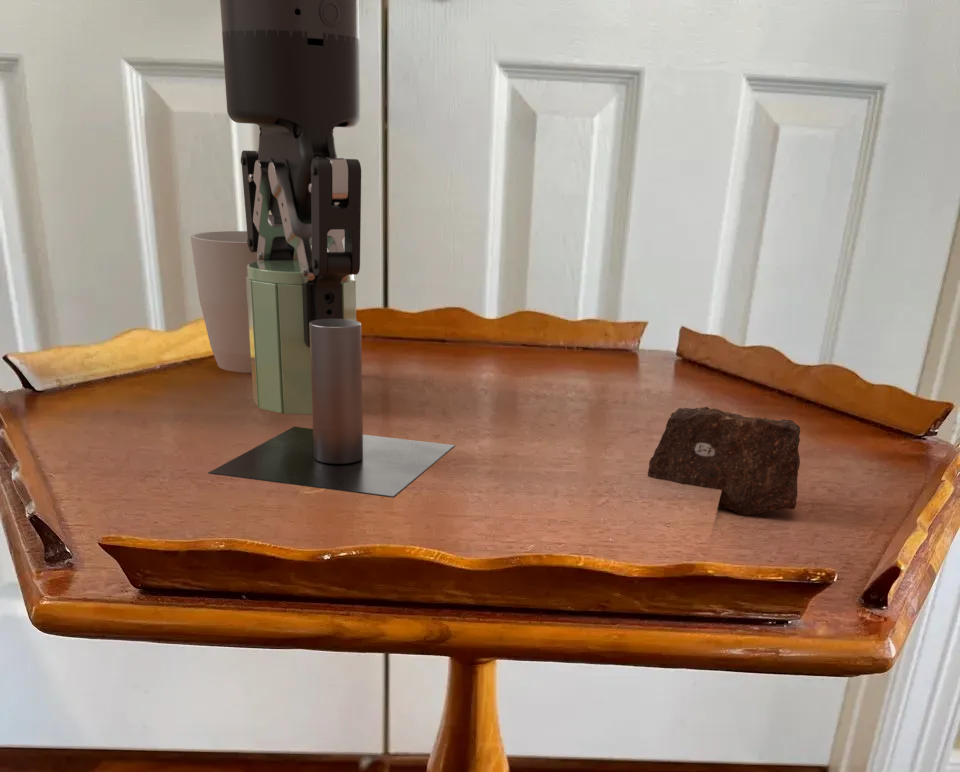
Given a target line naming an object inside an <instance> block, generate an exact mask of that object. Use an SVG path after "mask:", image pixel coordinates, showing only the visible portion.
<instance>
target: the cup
mask: <svg viewBox="0 0 960 772" xmlns="http://www.w3.org/2000/svg"><path fill="white" fill-rule="evenodd" d="M189 236H190V237H189V238H190V243H191V250H192V258H193V265H194V266H193V267H194V272H195V281H196V286H197V287H196V288H197V295H198V299H199V304H200V308H201V313H202V317H203V321H204V325H205V329H206V333H207V338H208V341H209V345H210V349H211V352H212V354H213V356H214V359H215V361H216V364H217V366H218V368H219V369H221V370H225V371H228V372H234V373H235V372H236V373H243V374H245V373H246V374H252V369H251V353H250V336H249V320H248V304H247V288H246V276H247V265H248V264H250V263H253V262H258V260H257V256H256V254H257V252H250V250H249V247H248V244H247V239H248V237H247V230H227V231H226V230H224V231H206V232H196V233H193V234H190V235H189Z"/></svg>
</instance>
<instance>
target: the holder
mask: <svg viewBox="0 0 960 772" xmlns="http://www.w3.org/2000/svg"><path fill="white" fill-rule="evenodd" d="M309 329H310V357H311V386H312V414H311V415H312V428H311V427H301V426H292V427H291V428H289V429H286V430H285V431H283V432H281V433H279V434H277V435H275V436H273V437H272V438H269V439H268V440H266V441H264V442H263V443H262V442H261V444H258V445H256V446H255V447H253V448H251V449H249V450H247V451H246V452H244V453H242V454H240V455H238V456H236V457H235V458H233V459H231V460H229V461H227V462H225V463H223V464H222V465H220V466H218V467H216V468H214V469H212V470H210V471H208V472H207V474H209V475H214V476H224V477H232V478H237V479H245V480H255V481H261V482H270V483H277V484H285V485H293V486H300V487H308V488H315V489H323V490H330V491H338V492H347V493H353V494H354V493H355V494H362V495H369V496H375V497H376V496H377V497H383V498H384V497H385V498H395V497H397V496H398V495H400V493H401V492H403V491H404V490H405V489H406V488H408V486H410V485H411V484H412V483H413V482H414V481H416V480H417V479H418V478H419V477H420V476H422V475H423V474H424V473H425V472H426V471H427V470H428V469H430V468H431V467H432V466H434V465H435V464H436V463H437V462H439V460H440V459H442V458H443V457H444V456H446V455H447V454H448V453H449V452H450V451H451V450H452V449H454V448H455V447H456V445H455V444H449V443H440V442H433V441H431V442H430V441H422V440H413V439H404V438H397V437H389V436H388V437H387V436H379V435H370V434H364V431H363V430H364V423H363V421H364V414H363V411H364V409H363V359H362V358H363V352H362V351H363V349H362V348H363V347H362V346H363V344H362V343H363V342H362V338H363V337H362V323H361V322H360V321H358V320H356V321H354V320H348V319H318V320H313V321H311V322H310V323H309Z"/></svg>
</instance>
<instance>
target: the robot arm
mask: <svg viewBox="0 0 960 772" xmlns="http://www.w3.org/2000/svg"><path fill="white" fill-rule="evenodd" d="M219 3H220V4H219V5H220V19H221V20H220V21H221V36H222V39H221V40H222V53H223V67H224V68H223V69H224V82H225V83H224V85H225V98H226V112H227V116H228V117H229V118H230V120H232V122H234V123H238V124H249V125H251V124H252V125H253V124H254V125H257V126H259V136H258V138H259V139H258V148H257V149H258V150H244V149H243V150H242V151H241V155H240V165H241V174H242V186H243V198H244V211H245V222H246V223H245V224H246V225H245V226H246V231H247V237H248V239H247V244H248V247H249V250H250V252H257V254H256V256H257V260H258V262H259V261H271V260H299V265H300V269H301V275H302V278H303V281H304V282H305V283H302V296H303V321H304V342H305V344H306V346H307V347H309V348H310V329H309V323H310V322H311V321H313V320H318V319H343V311H342V284H341V282H346V281H347V278H348V275H354V276H355V275H356V276H357V275H358V274H359V273H360V269H361V229H362V228H361V227H362V226H361V225H362V224H361V221H362V219H361V218H362V215H361V214H362V166H361V162H360V160H359V159H357V158H344V157H338V154H337V149H336V144H335V143H336V142H335V136H334V129H335V128H354V127H356V126H357V125H358V124H359V122H360V120H361V66H360V65H361V64H360V63H361V62H360V61H361V60H360V7H359V6H360V0H219ZM270 213H271V214H270ZM343 240H344V243H343Z"/></svg>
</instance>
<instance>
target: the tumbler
mask: <svg viewBox="0 0 960 772" xmlns="http://www.w3.org/2000/svg"><path fill="white" fill-rule="evenodd" d="M302 283H305V282H304V281H303V278H302V275H301V269H300V265H299V260H271V261H259V262H253V263H250V264H248V265H247V276H246V288H247V304H248V320H249V336H250V353H251V369H252V373H251V384H252V385H251V386H252V399H253V403H254V404H255V405H256V407H257V408H259V409H260V410H266V411H270V412H274V413H277V414H286V415H313V414H312V386H311V357H310V348H309V347H307V346H306V344H305V342H304V321H303V296H302ZM341 284H342V311H343V319H348V320H354V321H357V280H356V279H355V275H348V278H347V281H346V282H341Z"/></svg>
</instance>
